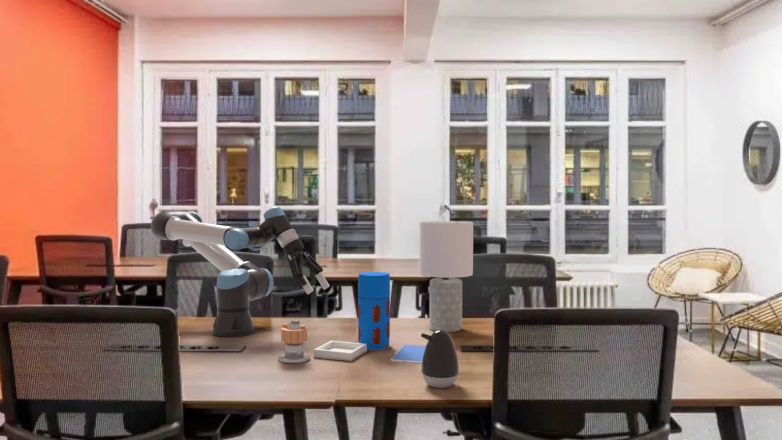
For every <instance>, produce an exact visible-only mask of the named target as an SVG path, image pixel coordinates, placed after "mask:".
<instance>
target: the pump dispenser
mask: <svg viewBox="0 0 782 440" xmlns="http://www.w3.org/2000/svg"><path fill="white" fill-rule="evenodd" d="M420 336H421V338H423V339H425V340H427V342H426V345H425V346H426V348H425V351H424V355H423V360H422V364H421V374H422V377H423V379H424V381H425V383H426V384H427V385H429V386H430V387H433V388H436V389H446V388H448V387H451V386H452V385H454V383H455V382H456V381H457V378H458V375H459V373H460V367H459V366H460V365H459V359H458V354H457V350H456V346H455V344H454V342H453V339H452V337H451V335H450V334H449V332H446V331H444V330H437V331H433V332H432V334H431V335H430V334H427V333H423V332H422V333H421V334H420Z"/></svg>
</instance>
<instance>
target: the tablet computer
mask: <svg viewBox="0 0 782 440" xmlns="http://www.w3.org/2000/svg"><path fill="white" fill-rule="evenodd" d="M425 348H426V345H414V344H413V345H412V344H403V345H402V346H401V347H400V349H398V350H397V352H396V353H395V354H394V355H393V356H392V357H391V358H390V362H392V361H394V362H393V363H405V362H407V363H408V364H420V365H422V360H423V355H424V351H425ZM407 363H406V364H407Z"/></svg>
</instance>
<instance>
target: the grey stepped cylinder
mask: <svg viewBox="0 0 782 440" xmlns="http://www.w3.org/2000/svg"><path fill="white" fill-rule="evenodd" d="M287 324H288V329H289V330H297V329H300V325H301V322H300V320H293V319H291V320H290V322H288V323H287ZM310 360H311V355H310V354H308V353H305V342H304V343H297V344H288V343H284V353H283V354H280V355H279V356H278V357H277V361H278V362H279V363H282V364H291V365H293V364H295V365H297V364H304V363H306V362H309V361H310Z"/></svg>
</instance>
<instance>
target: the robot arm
mask: <svg viewBox="0 0 782 440" xmlns="http://www.w3.org/2000/svg"><path fill="white" fill-rule="evenodd" d="M263 218H264V221H263V222H261V223H260V224H259V225H258V226H255V227H254V226H253V227H246V228H245V227H243V228H241V227H236V226H235V227H234V226H228V225H220V224H213V223H206V222H203V219H202V217H201V215H200V214H199V213H198V212H196V211H193V210H187V209H184V210H182V209H181V210H166V211H161V212H159V213H157V214H156V215H155V216H154V217H153V218H152V220H151V223H150V229H151V232H152V234H153V235H154V236H155V237H156V238H157V239H160V240H162V241H163V240H164V241H173V242H174V241H178V242H179V243H181V244H182V245H183V246H185V247H191V248H193V249H194V250H195V251H196V252H197V253H199V254H200V255H201V256H202V257H203V258H205V259H206V260H207V261H208V262H209V263H211V264H212V265H213V266H215V267H216V268H217V269H218V270H219V271H220V272H219V273H218V274H217V278H216V280H217V281H216V304H217V307H216V309H217V312H216V316H215V319H214V321H213V322H214V323H213V325H212V335H214V336H216V337H226V338H233V337H234V338H235V337H242V336H243V337H244V336H248V335H251V334H253V333H254V332H255V325H254V322H253V319H252V315H251V313H250V302H251V301H256V300H258V299H263V298H265V297H267V296H269V294H270V293H271V292H272V290H273V287H274V277H273V275H272V273H271V272H270V270H268V269H267V268H264V267H257V266H256V265H255V264H254V263H252V262H251V261H249V260H248V261H244V260H243V259H241V258H240V257H239V256H238V255H236V254H235V252H233V251H232V250H242V249H249V250H251V251H253V252H258V251H259V250H260V249H262V248H264V247H265V246H266V245H267V244H269V243H270V242H272V240H273V239H276V240H277V242H278V244H279V245H280V247H281V248H282V250H283V252H284V254H285V256H286V259H287V262H288V265H289V268H290V271H291V274H292V275H291V276H292V278H293V279H294V280H295V281H298V282H299V283H300V285H301V287H302V288H303V290H304V291H305V293H306V295H310V294H311V293H312V292H314V291H315V290H314V288H313V287H312V284H311V283H310V281H309V280H308V279H307V277H306V275H304V271H303V266H304V267H306V268H308V270H310V271H311V272H312V273H313V274H315V278H316V279H317V281H318V283H319V284H320V286H321V288H322V289H323V291H325V290H326V289H328V288H329V287H330V284H329V282H328V281H327V279H326V278H325V275H324V274H323V271H324V269H323V268H322V266H321V265H320V263H318V262H317V261H316V259H314V257H313V256H312V255H311V254H310V253H309V251H307V250H306V251H304V247H305V246H304V243H303V242H302V240H301V239H300V238H299V235H298V234H297V231H296V229H294V227H293V226H292V224H291V222H290V220H289V219H288V217H287V214H286V213H285V212H284V210H283V209H282V208H281V207H280V206H273V207H271V208H268V209H267V210H266V211H265V213H263Z"/></svg>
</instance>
